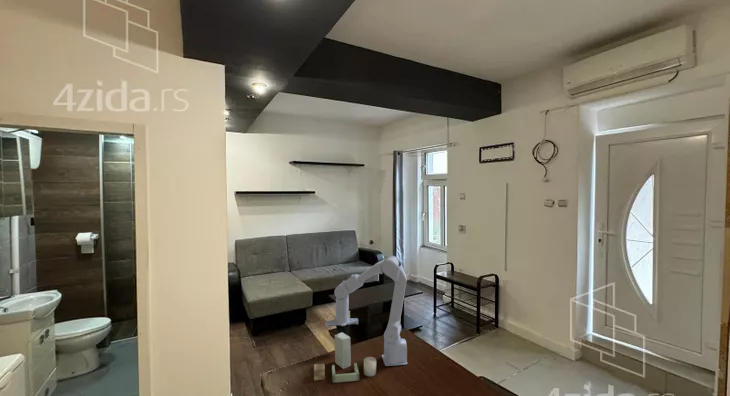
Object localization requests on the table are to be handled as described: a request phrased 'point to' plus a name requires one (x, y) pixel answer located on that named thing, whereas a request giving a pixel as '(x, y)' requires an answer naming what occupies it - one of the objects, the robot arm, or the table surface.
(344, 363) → the skincare box
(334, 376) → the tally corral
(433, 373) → the table surface
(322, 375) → the beech block
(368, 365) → the cream rounded block
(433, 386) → the table surface
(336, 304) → the robot arm
